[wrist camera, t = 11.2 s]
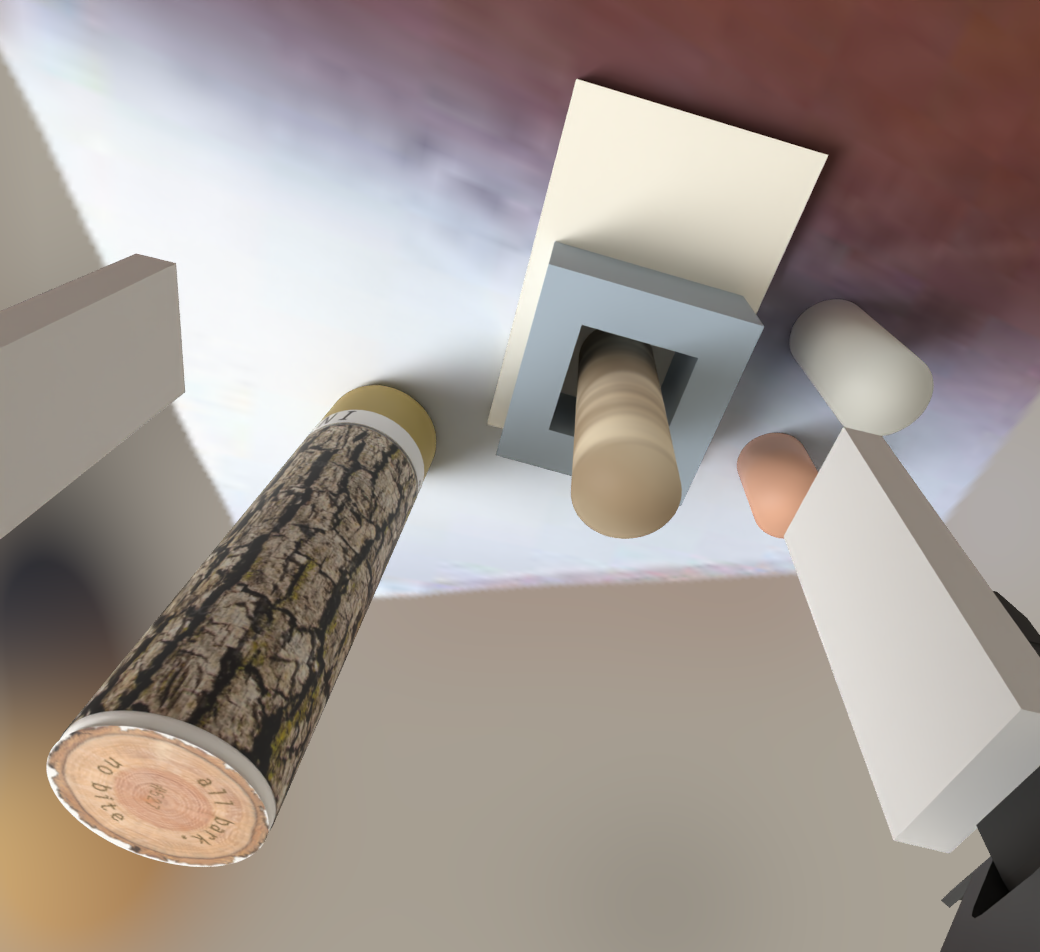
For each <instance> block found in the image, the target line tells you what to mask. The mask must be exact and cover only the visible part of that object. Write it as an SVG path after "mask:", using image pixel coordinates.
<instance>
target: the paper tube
mask: <svg viewBox="0 0 1040 952" xmlns="http://www.w3.org/2000/svg"><path fill="white" fill-rule="evenodd" d="M435 450H436V433H435V429H434V426H433V423H432V421H431V419H430V417H429V415H428V414H427V412H426V411H425V410H424V408H423V407H422V406H421V405H420V404H419V403H418V402H417V401H416V400H414V399H413V398H412V397H410V396H409V395H407V394H405V393H404V392H402V391H399V390H397V389H394V388H391V387H387V386H381V385H368V386H362V387H359V388H356V389H353V390H351V391H349V392H348V393H346V394H345V395H343V396H342V397H341V398H340V399H339V400H338V401H337V402H336V403H335V404H334V406H333V407H332V408H331V409H330V411H329V412H328V413H327V414H326V415H325V417H324V418H323V419H322V420H321V422H320V423H319V424H318V425H317V426H316V427H315V428H314V429H313V430H312V432H311V433H310V434H309V435H308V437H307V438H306V439H305V440H304V442H303V443H302V444H301V445H300V446H299V447H298V449H297V450H296V451H295V452H294V454H293V455H292V456H291V457H290V458H289V460H288V461H287V462H286V463H285V464H284V466H283V467H282V468H281V469H280V471H279V472H278V473H277V474H276V475H275V477H274V478H273V479H272V480H271V481H270V483H269V484H268V485H267V486H266V488H265V489H264V490H263V491H262V492H261V494H260V495H259V496H258V497H257V498H256V500H255V501H254V502H253V503H252V505H251V506H250V507H249V508H248V509H247V511H246V512H245V513H244V514H243V515H242V517H241V518H240V519H239V520H238V521H237V523H236V524H235V525H234V526H233V528H232V529H231V530H230V531H229V532H228V534H227V535H226V536H225V537H224V538H223V540H222V541H221V542H220V543H219V545H218V546H217V547H216V548H215V549H214V551H213V552H212V553H211V554H210V555H209V557H208V558H207V559H206V560H205V562H204V563H203V564H202V565H201V566H200V568H199V569H198V570H197V571H196V573H195V574H194V575H193V576H192V577H191V579H190V580H189V581H188V582H187V584H186V585H185V586H184V587H183V588H182V590H181V591H180V592H179V593H178V594H177V596H176V597H175V598H174V599H173V600H172V602H171V603H170V604H169V605H168V606H167V608H166V609H165V610H164V611H163V613H162V614H161V615H160V616H159V617H158V619H157V620H156V621H155V622H154V623H153V625H152V626H151V627H150V628H149V629H148V631H147V632H146V633H145V634H144V636H143V637H142V638H141V639H140V641H139V642H138V643H137V644H136V645H135V647H134V648H133V649H132V650H131V651H130V653H129V654H128V655H127V656H126V658H125V659H124V660H123V661H122V662H121V663H120V665H119V666H118V667H117V668H116V670H115V671H114V672H113V673H112V674H111V676H110V677H109V678H108V679H107V680H106V682H105V683H104V684H103V685H102V687H101V688H100V689H99V690H98V692H97V693H96V694H95V695H94V696H93V697H92V699H91V700H90V701H89V702H88V703H87V705H86V706H85V707H84V708H83V710H82V711H81V712H80V713H79V714H78V716H77V717H76V718H75V719H74V720H73V722H72V723H71V724H70V725H69V727H68V728H67V729H66V730H65V732H64V733H63V734H62V736H61V738H60V740H59V741H58V742H57V743H56V744H55V745H54V747H53V748H52V750H51V751H50V753H49V756H48V759H47V775H48V779H49V782H50V785H51V787H52V789H53V791H54V793H55V794H56V796H57V798H58V799H59V800H60V802H61V803H62V804H63V805H64V807H65V808H66V809H67V810H68V811H69V812H70V813H71V814H72V815H73V816H74V817H75V818H76V819H77V820H79V821H80V822H81V823H82V824H84V825H85V826H86V827H87V828H89V829H90V830H92V831H93V832H95V833H96V834H98V835H99V836H101V837H103V838H104V839H106V840H108V841H110V842H112V843H114V844H115V845H117V846H120V847H122V848H124V849H126V850H128V851H131V852H133V853H136V854H139V855H142V856H144V857H147V858H151V859H154V860H158V861H162V862H166V863H171V864H177V865H184V866H195V867H212V866H222V865H227V864H231V863H236V862H238V861H241V860H244V859H246V858H247V857H249V856H251V855H252V854H254V853H255V852H256V851H257V850H258V849H260V848H261V846H262V845H263V843H264V842H265V840H266V838H267V834H268V832H269V831H270V829H271V828H272V826H273V824H274V822H275V820H276V817H277V815H278V813H279V811H280V808H281V806H282V804H283V801H284V799H285V797H286V795H287V792H288V790H289V788H290V785H291V783H292V781H293V779H294V776H295V774H296V772H297V769H298V767H299V765H300V763H301V760H302V758H303V756H304V753H305V751H306V749H307V747H308V744H309V742H310V740H311V738H312V735H313V733H314V730H315V728H316V726H317V724H318V721H319V719H320V717H321V715H322V712H323V710H324V708H325V706H326V703H327V701H328V699H329V696H330V694H331V692H332V690H333V687H334V685H335V683H336V680H337V678H338V676H339V674H340V671H341V669H342V667H343V664H344V662H345V660H346V657H347V655H348V653H349V651H350V648H351V646H352V644H353V642H354V639H355V637H356V635H357V632H358V630H359V628H360V626H361V623H362V621H363V619H364V617H365V614H366V612H367V610H368V607H369V605H370V603H371V601H372V598H373V596H374V594H375V591H376V589H377V587H378V585H379V582H380V580H381V578H382V575H383V573H384V571H385V569H386V566H387V564H388V562H389V559H390V557H391V555H392V553H393V550H394V548H395V546H396V544H397V541H398V539H399V537H400V534H401V532H402V530H403V528H404V525H405V523H406V521H407V518H408V516H409V514H410V512H411V509H412V507H413V505H414V502H415V500H416V498H417V496H418V493H419V491H420V489H421V486H422V483H423V481H424V479H425V476H426V474H427V472H428V469H429V467H430V465H431V463H432V460H433V458H434V455H435Z"/></svg>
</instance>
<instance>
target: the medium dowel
mask: <svg viewBox="0 0 1040 952" xmlns="http://www.w3.org/2000/svg"><path fill="white" fill-rule="evenodd" d="M789 344H790V350H791V353H792V355H793V357H794V358H795V360H796V361H797V363H798V364H799V365H800V367H801V368H802V369H803V371H804V372H805V374H806V375H807V376H808V378H809V379H810V381H811V382H812V383H813V385H814V386H815V388H816V389H817V390H818V392H819V393H820V395H821V396H822V397H823V399H824V400H825V401H826V403H827V404H828V406H829V407H830V408H831V410H832V411H833V413H834V414H835V415H836V417H837V418H838V420H839V421H840V422H841V424H842V425H843V426H844V427H847V428H851V429H855V430H859V431H863V432H867V433H871V434H875V435H880V436H885V435H889V434H893V433H895V432H898V431H900V430H902V429H904V428H906V427H907V426H909V425H910V424H912V423H913V422H914V421H915V420H916V419H918V418H919V416H920V415H921V414H922V413H923V412H924V410H925V409H926V407H927V406H928V404H929V402H930V399H931V397H932V393H933V378H932V374H931V372H930V370H929V368H928V367H927V365H926V364H925V363H924V362H923V361H922V360H921V359H919V358H918V357H917V356H916V355H915V354H914V353H912V352H911V351H910V350H909V349H908V348H907V347H905V346H904V345H903V344H902V343H901V342H900V341H898V340H897V339H896V338H895V337H894V336H892V335H891V334H890V333H889V332H888V331H887V330H885V329H884V328H883V327H882V326H881V325H880V324H878V323H877V322H876V321H875V320H874V319H872V318H871V317H870V316H869V315H868V314H867V313H865V312H864V311H863V310H862V309H861V308H860V307H858V306H857V305H856V304H854V303H852V302H850V301H847V300H842V299H830V300H825V301H822V302H819V303H817V304H815V305H813V306H811V307H810V308H808V309H807V310H806V311H805V312H803V313H802V314H801V315H800V317H799V318H798V319H797V320H796V322H795V324H794V326H793V328H792V330H791V334H790V340H789Z"/></svg>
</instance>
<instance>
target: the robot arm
mask: <svg viewBox="0 0 1040 952" xmlns="http://www.w3.org/2000/svg"><path fill="white" fill-rule="evenodd" d="M184 392H185V383H184V369H183V354H182V340H181V326H180V312H179V298H178V284H177V270H176V263H173V262H168V261H164V260H160V259H156V258H152V257H148V256H144V255H140V254H134V255H132V256H129V257H127V258H125V259H122V260H120V261H118V262H115V263H113V264H110V265H108V266H106V267H103V268H101V269H99V270H96V271H94V272H91V273H89V274H87V275H85V276H82V277H80V278H77V279H75V280H72V281H70V282H68V283H65V284H63V285H61V286H59V287H56V288H54V289H51V290H49V291H47V292H44V293H42V294H39V295H37V296H35V297H32V298H30V299H27V300H25V301H23V302H21V303H18V304H16V305H13V306H11V307H8V308H6V309H4V310H1V311H0V539H1V538H2V537H4V536H5V535H6V534H7V533H9V532H10V531H11V530H12V529H14V528H15V527H16V526H17V525H19V524H20V523H21V522H22V521H24V520H25V519H26V518H28V517H29V516H30V515H31V514H32V513H34V512H35V511H36V510H37V509H39V508H40V507H41V506H42V505H44V504H45V503H46V502H48V501H49V500H50V499H51V498H53V497H54V496H55V495H56V494H58V493H59V492H60V491H61V490H63V489H64V488H65V487H66V486H68V485H69V484H70V483H71V482H73V481H74V480H75V479H76V478H78V477H79V476H80V475H82V474H83V473H84V472H85V471H87V470H88V469H89V468H90V467H92V466H93V465H94V464H95V463H97V462H98V461H99V460H100V459H102V458H103V457H104V456H105V455H107V454H108V453H109V452H110V451H112V450H113V449H114V448H115V447H117V446H118V445H119V444H120V443H121V442H123V441H124V440H125V439H127V438H128V437H129V436H130V435H132V434H133V433H134V432H136V431H137V430H138V429H139V428H140V427H141V426H143V425H144V424H146V423H147V422H148V421H149V420H151V419H152V418H153V417H154V416H156V415H157V414H158V413H159V412H161V411H162V410H163V409H164V408H166V407H167V406H168V405H169V404H171V403H172V402H173V401H174V400H176V399H177V398H178V397H179V396H181V395H182V394H183V393H184ZM784 539H785V542H786V544H787V547H788V550H789V553H790V555H791V558H792V561H793V564H794V566H795V569H796V572H797V575H798V577H799V580H800V583H801V585H802V588H803V591H804V594H805V597H806V600H807V602H808V605H809V607H810V611H811V613H812V616H813V618H814V621H815V624H816V627H817V630H818V632H819V635H820V638H821V641H822V644H823V646H824V649H825V652H826V655H827V657H828V660H829V663H830V666H831V668H832V671H833V674H834V677H835V679H836V682H837V685H838V688H839V691H840V693H841V696H842V698H843V702H844V704H845V707H846V710H847V712H848V715H849V718H850V721H851V724H852V726H853V729H854V732H855V734H856V737H857V740H858V743H859V746H860V748H861V751H862V754H863V757H864V759H865V762H866V765H867V768H868V770H869V773H870V776H871V779H872V782H873V784H874V787H875V790H876V793H877V795H878V798H879V801H880V804H881V806H882V809H883V811H884V814H885V817H886V820H887V823H888V826H889V828H890V831H891V834H892V837H893V839H894V840H895V841H899V842H903V843H907V844H911V845H916V846H920V847H924V848H928V849H933V850H937V851H941V852H946V853H950V852H952V851H953V850H954V849H955V848H956V847H957V846H958V845H959V844H960V843H961V842H962V841H964V839H966V838H967V837H968V836H969V835H970V834H971V833H972V832H973V831H974V830H975V829H977V828H978V830H979V832H980V834H981V836H982V838H983V840H984V842H985V845H986V847H987V849H988V851H989V853H990V855H991V856H990V857H989V858H988V859H987V860H986V861H985V862H984V863H982V864H981V865H980V866H979V867H978V868H977V869H975V870H974V871H973V872H972V873H971V874H970V875H969V876H967V877H966V878H965V879H964V880H963V881H962V882H960V883H959V884H958V885H957V886H956V887H955V888H954V889H953V890H951V891H950V892H949V893H948V894H947V895H946V896H945V897H944V898H943V899H942V900H941V901H942V902H944V903H945V904H946V905H947V906H948V907H949V908H950V907H951V906H952V905H953V904H954V903H956V902H957V901H958V900H962V902H961V904H960V906H959V909H958V911H957V913H956V915H955V918H954V920H953V922H952V925H951V927H950V930H949V932H948V934H947V937H946V939H945V942H944V944H943V946H942V948H941V951H940V952H1040V635H1039V634H1038V632H1037V631H1036V629H1035V628H1034V627H1033V626H1032V624H1031V623H1030V621H1029V620H1028V619H1027V618H1026V617H1025V616H1024V615H1023V614H1022V613H1021V612H1019V611H1018V610H1017V609H1016V608H1015V607H1014V606H1013V605H1012V604H1010V603H1009V602H1008V601H1007V600H1006V599H1005V598H1004V597H1002V596H1001V595H1000V594H999V593H998V592H995V591H992V590H991V588H990V587H989V585H988V584H987V583H986V581H985V580H984V579H983V577H982V576H981V574H980V573H979V572H978V570H977V569H976V567H975V566H974V565H973V563H972V562H971V560H970V559H969V558H968V556H967V555H966V553H965V552H964V551H963V549H962V548H961V546H960V545H959V544H958V542H957V541H956V539H955V538H954V537H953V535H952V534H951V532H950V531H949V530H948V528H947V527H946V525H945V524H944V523H943V521H942V520H941V518H940V517H939V516H938V514H937V513H936V511H935V510H934V509H933V507H932V506H931V504H930V503H929V502H928V500H927V499H926V497H925V496H924V495H923V493H922V492H921V490H920V489H919V488H918V486H917V485H916V483H915V482H914V481H913V479H912V478H911V476H910V475H909V474H908V472H907V471H906V469H905V468H904V467H903V465H902V464H901V462H900V461H899V460H898V458H897V457H896V455H895V454H894V453H893V451H892V450H891V448H890V447H889V446H888V444H887V443H886V441H885V440H884V439H883V437H882V436H880V435H875V434H871V433H867V432H863V431H859V430H855V429H851V428H847V427H843V428H842V430H841V432H840V434H839V436H838V438H837V439H836V441H835V443H834V445H833V447H832V449H831V450H830V452H829V454H828V456H827V458H826V460H825V461H824V463H823V465H822V467H821V469H820V471H819V472H818V474H817V476H816V478H815V480H814V482H813V483H812V485H811V487H810V489H809V491H808V492H807V494H806V496H805V498H804V500H803V502H802V503H801V505H800V507H799V509H798V511H797V513H796V514H795V516H794V518H793V520H792V522H791V524H790V525H789V527H788V529H787V531H786V533H785V535H784Z"/></svg>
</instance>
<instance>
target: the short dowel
mask: <svg viewBox="0 0 1040 952" xmlns="http://www.w3.org/2000/svg"><path fill="white" fill-rule="evenodd" d="M737 471H738V474H739V477H740V480H741V482H742V485H743V488H744V491H745V493H746V496H747V499H748V502H749V505H750V507H751V510H752V513H753V516H754V518H755V521H756V523H757V525H758V526H759V527H760V528H761V529H762V530H763V531H764V532H765V533H767V534H769V535H771V536H774V537H777V538H783V539H784V535H785V533H786V531H787V529H788V527H789V525H790V524H791V522H792V520H793V518H794V516H795V514H796V513H797V511H798V509H799V507H800V505H801V503H802V502H803V500H804V498H805V496H806V494H807V492H808V491H809V489H810V487H811V485H812V483H813V482H814V480H815V478H816V476H817V474H818V471H817V469H816V467H815V466H814V464H813V462H812V460H811V459H810V457H809V455H808V453H807V452H806V450H805V448H804V446H803V445H802V444H801V442H800V441H799V440H797V439H796V438H795V437H793V436H791V435H788V434H784V433H768V434H764V435H761V436H759V437H757V438H755V439H753V440H752V441H750V442H749V443H748V444H747V445H746V446H745V447H744V448H743V449H742V451H741V453H740V455H739V457H738V461H737Z"/></svg>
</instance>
